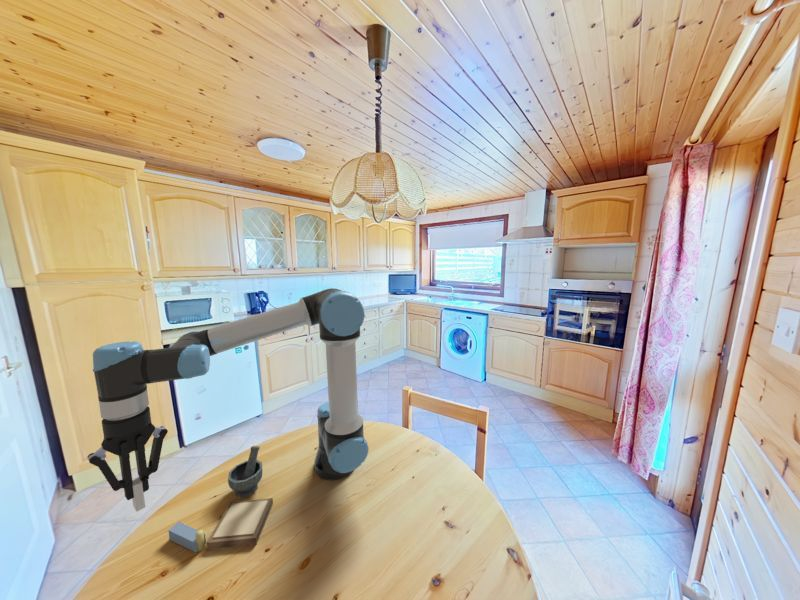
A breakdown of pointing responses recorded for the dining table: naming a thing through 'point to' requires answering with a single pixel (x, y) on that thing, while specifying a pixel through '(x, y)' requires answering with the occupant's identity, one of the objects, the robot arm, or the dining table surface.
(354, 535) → the dining table surface
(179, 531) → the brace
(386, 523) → the dining table surface
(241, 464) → the mortar and pestle
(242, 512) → the stand
